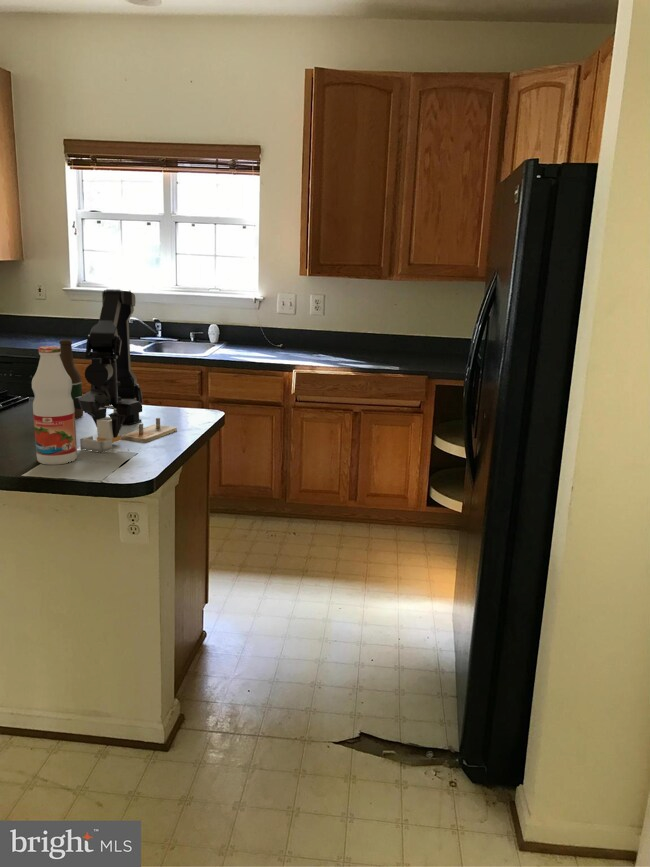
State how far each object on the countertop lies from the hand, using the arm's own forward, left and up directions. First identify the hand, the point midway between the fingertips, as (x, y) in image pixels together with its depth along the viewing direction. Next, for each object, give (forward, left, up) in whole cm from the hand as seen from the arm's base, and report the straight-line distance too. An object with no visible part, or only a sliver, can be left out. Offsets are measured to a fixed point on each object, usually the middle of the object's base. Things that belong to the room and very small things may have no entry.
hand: (108, 436), depth 185 cm
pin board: (+3, +14, -2) cm, 15 cm away
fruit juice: (-2, -17, -3) cm, 17 cm away
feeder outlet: (0, -5, -2) cm, 6 cm away
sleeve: (0, 0, -1) cm, 1 cm away
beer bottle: (-32, +21, -3) cm, 38 cm away
